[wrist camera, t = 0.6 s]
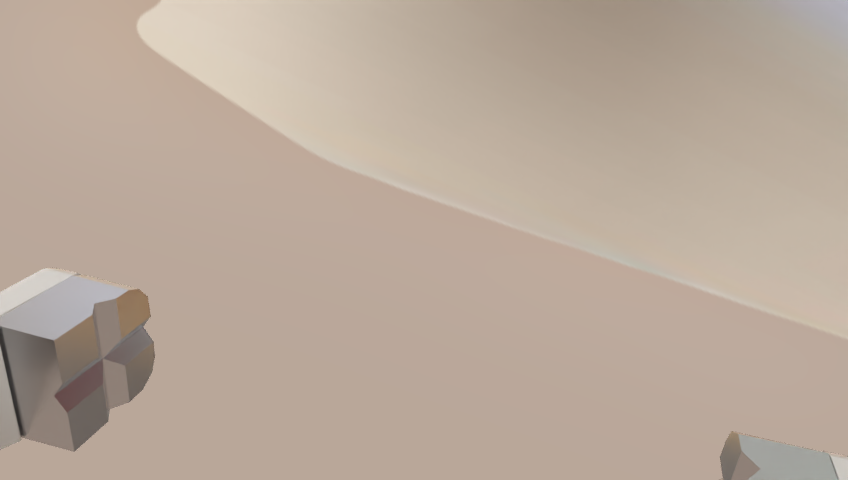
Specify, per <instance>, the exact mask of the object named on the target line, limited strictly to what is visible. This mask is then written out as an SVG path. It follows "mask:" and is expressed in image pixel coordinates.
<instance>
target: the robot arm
mask: <svg viewBox="0 0 848 480" xmlns="http://www.w3.org/2000/svg"><path fill="white" fill-rule="evenodd" d="M150 317H151V315H150V308H149V303H148V296H146V295H145V294H144V293H143V292H142V291H141V290H139V289H137V288H133V287H129V286H125V285H122V284H117V283H114V282H110V281H106V280H103V279H98V278H95V277H91V276H87V275H81V274H79V273H75V272H71V271H67V270H63V269H58V268H44V269H42V270H40V271H38V272H36V273H35V274H33V275H31V276H29V277H27V278H25V279H23V280H22V281H20V282H18V283H16V284H15V285H12V286H11V287H9V288H7V289H5V290H3V291H1V292H0V450H1V449H3V448H5V447H7V446H10V445H12V444H14V443H17V442H19V441H21V437H22V438H26V439H30V440H33V441H37V442H41V443H44V444H48V445H52V446H55V447H59V448H63V449H66V450H70V451H76V450H77V449H78V448H79V447H80V446H81V445H82V444H83V443H85V442H86V441H87V440H88V439H89V438H90V437H91V436H92V435H93V434H94V433H96V432H97V431H98V430H99V429H100V428H101V427H102V426H104V424H106V423H107V422H108V418H109V410H110V409H111V408H114V407H117V406H120V405H123V404H125V403H128V402H130V401H131V400H132V399H133V398H134V397H135V396H136V395H137V394H139V393H140V392H141V391H142V390H143V388H144V386H145V384H146V382H147V381H148V379H149V377H150V375H151V373H152V370H153V363H154V358H155V353H154V342H153V340H152V339H151V337H150V336H149V335H148V333H147V332H146V330H145V329H144V327H143V326H144V325H145V323H146V322H147V321H148V319H149V318H150ZM720 460H721V467H722V474H723V478H722V479H720V480H848V456H845V455H841V454H836V453H831V452H826V451H822V452H821V451H816V450H812V449H808V448H803V447H799V446H795V445H790V444H786V443H781V442H777V441H773V440H768V439H764V438H759V437H755V436H751V435H746V434H742V433H737V432H733V431H732V432H731V433H730V435H729V437H728V438H727V440H726V442H725V445H724V448H723V450H722V453H721V456H720Z"/></svg>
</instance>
